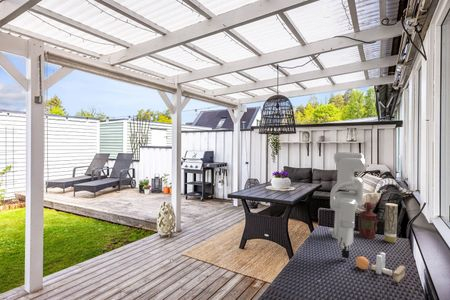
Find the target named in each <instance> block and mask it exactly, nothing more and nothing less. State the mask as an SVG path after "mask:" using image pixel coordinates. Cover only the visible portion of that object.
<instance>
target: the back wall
mask: <svg viewBox="0 0 450 300" xmlns="http://www.w3.org/2000/svg"><path fill="white" fill-rule="evenodd" d="M405 275H406V266H405V265H402V264H401V265H399V266H398V267H397V268H396V270H394V271H393V274H392V276H393V281H392V282H394V283H397V284H399V282H401V281H402V279H403V278H404V277H405Z"/></svg>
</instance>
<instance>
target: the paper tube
mask: <svg viewBox="0 0 450 300" xmlns="http://www.w3.org/2000/svg"><path fill="white" fill-rule="evenodd" d="M398 206H399V205H398V204H396V203H390V202H389V203H388V202H387V203H385V211H384V231H383V232H384V234H383V235H384V237H383V239H384V241H385V242H387V243H391V244H394V243H397V230H398V229H397V228H398V227H397V226H398Z"/></svg>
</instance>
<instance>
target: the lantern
mask: <svg viewBox="0 0 450 300" xmlns="http://www.w3.org/2000/svg"><path fill="white" fill-rule="evenodd" d="M368 195H369V199H371V198H372V194H371V193H367V194H366V195H365V198H366V200H368ZM363 208H364V209H365V210H363V211H359V216H358V218H357V219H358V223H357V224H358V225H357V226H358V230H359V232H358V236H360V237H361V238H364V239H371V240H372V239H373V240H374V239H375V238H376V232H377V230H378V226H377V223H378V219H377V218H376V217H377V216H378V215H377V213H374V212H373V211H372V209H373V204H372V202H371V201H365V202H364V204H363Z"/></svg>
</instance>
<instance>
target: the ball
mask: <svg viewBox="0 0 450 300" xmlns="http://www.w3.org/2000/svg"><path fill="white" fill-rule="evenodd" d="M355 264H356V267H358V268H359V269H361V270H367V269H368V268H369V266H370V261H369V259H367V258H366V257H365V256H362V255H361V256H358V257H356V259H355Z"/></svg>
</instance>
